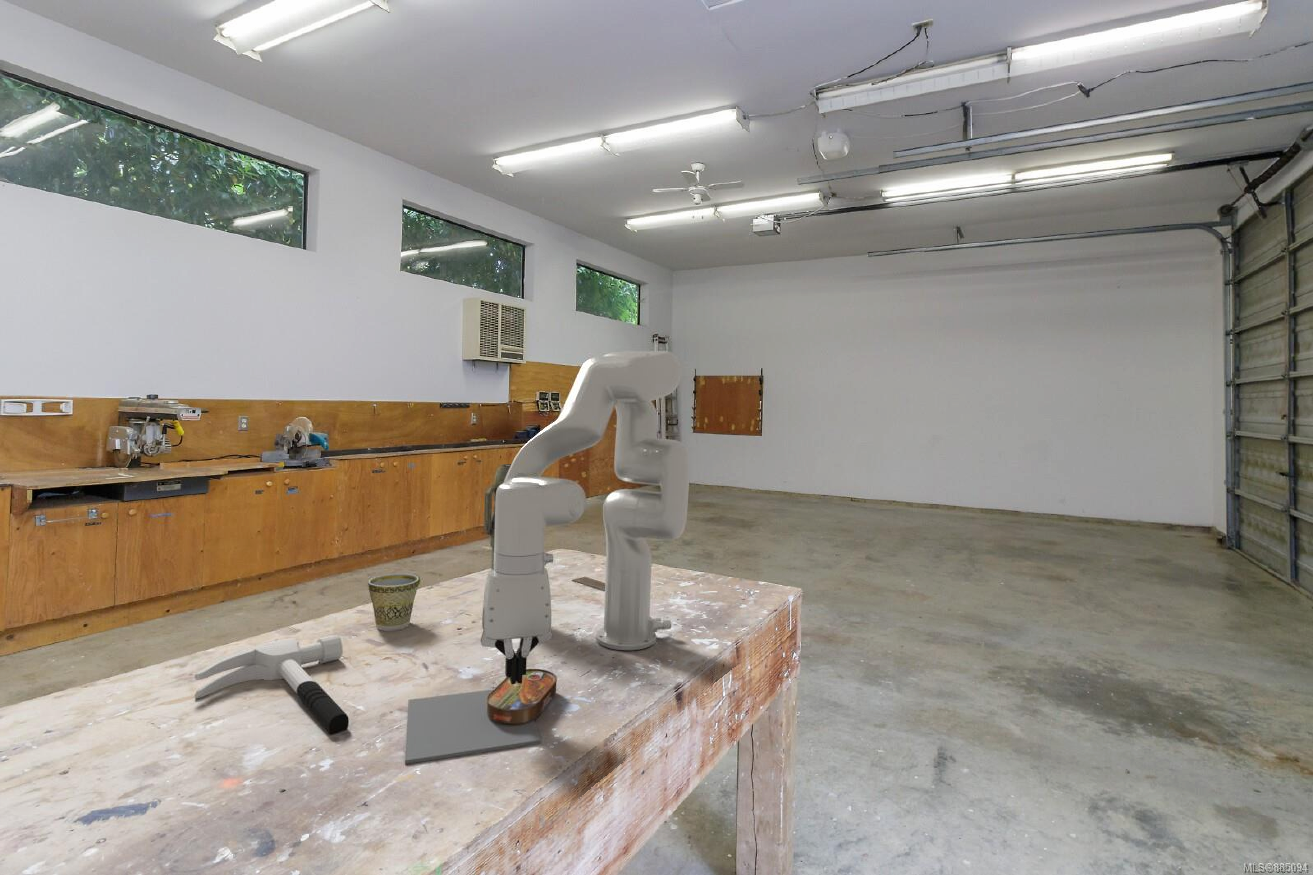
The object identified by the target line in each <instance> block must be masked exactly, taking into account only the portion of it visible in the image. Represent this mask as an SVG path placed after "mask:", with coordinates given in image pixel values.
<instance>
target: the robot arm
mask: <svg viewBox="0 0 1313 875" xmlns="http://www.w3.org/2000/svg"><path fill="white" fill-rule="evenodd" d="M681 378H682V367H681V363H680V361H679V359H678V357H677V356H676V355H675V354H674V353H673V352H671V351H668V350H659V351H658V350H653V351H652V350H647V351H645V350H643V351H641V350H640V351H639V350H623V351H622V350H621V351H612V352H609V353H605V354H604V355H602V356H599V355H598V356H594V357H591V358H589V359H587V360H586V361H585V362H583V364H582V365H581V367H580V368H579V371H578V373H577V375H576V377H575V380H574V382H573V384H572V387H571V389H570V391H569V393H568V396H567V397H566V400H565V402H564V405H563V407H562V408H561V411H560V414H559V415H558V416H557V417H558V418H556V419H555V421H553V422H552V423H550V424H549V425H548V426H546V427H545V428H543V429H542V430H541V431H540V432H538V433H537V434H536V435H535V436H534V437H532V438H531V439H530V440H528V441H527V443H525V444H524V445H523V446H522V448H520V449H519V451H518V452H517V453H516V455H515V457H514V458H513V461H512V462H511V463H510V464H511V467H510V469H509V471H508V473H507V475H506V478H505V480H504V482H503V484H501V485H500V486H499V487H498V488H497V491H496V502H495V501H494V505H495V540H494V569H493V570H491V569H490V570H489V571H487V576H486V580H485V585H484V593H483V601H482V602H483V603H482V615H481V616H482V617H481V619H482V620H481V623H482V626H481V627H482V634H481V638H480V645H481V646H482V647H484V648H485V647H486V648H491V649H495V648H496V650H498V651H499V652H500V653H501V654H502V655H504V656H505V667H504V673H505V678H506V677H509V678H510V682H511V685H512V684H515V683H516V681H517V683H518V684H520V683H522V675H526V669H527V663H528V662H527V661H528V657H529V656H530V653H531V652H532V651H533V649H535V648H536V647H537V645H539V644H542V643H546V642H549V641H550V640H552V638H553V636H552V630H551V629H552V597H551V586H550V585H551V584H550V577H549V571H548V569H547V568H546V565H547V564H549V563H553V562H554V554H553V553H548V552H547V553H546V551H545V537H546V534H545V532H546V527H548V526H567V525H570V524H572V523H574V522H576V521H578V520H579V519H580V518H581V516H582V515H583V514H584V512H585V510H586V506H587V496H586V493H585V490H584V489H583V487H582V486H581V485H580V484H579V483H577V482H576V481H575V480H571V479H568V478H561V477H560V478H559V477H558V478H557V477H550V476H542V474H543V473H544V472H545V471H546V469H547V468H549V467H551V465H553V464H554V463H555V462H556V461H558V460H560V459H563V458H565V457H567V456H570V455H573V454H577V453H578V452H581V451H583V450H586V449H590V448H592V447H593V446H595V445H597V444H599V443H600V442H601V441H602V439H603V437H604V435H605V431H606V430H607V427H608V424H609V422H610V419H611V416H612V414H613V412H614V409H615V412H616V431H615V447H614V457H613V458H614V459H613V460H614V462H613V464H614V465H613V467H614V474H615V475H616V477H617V478H618V479H619V480H621V481H624V482H628V483H633V484H641V485H650V486H651V485H652V486H660V491H651V490H643V489H642V490H641V489H631V488H621V489H616V490H614V491H612V492H611V493H609V494H608V495H607V497H606V498H605V500H604V501H603V506H602V518H603V525H604V529H605V530H604V531H605V545H606V547H605V548H606V549H605V553H606V555H605V582H604V583H605V592H604V608H603V609H604V611H603V612H604V613H603V614H604V616H603V627H602V628H600V629H598V630H597V631H596V634H595V641H597V644H599V645H601V646H603V647H605V648H608V649H612V650H618V651H636V650H638V651H639V650H643V649H646V648H650V647H651V646H653V645H654V644H655V643H656V642H657V632H658V631H659V630H662V631H663V630H670V629H671V628H672V621H671V619H663V620H662V619H661V617H655V618H652V617H651V616H650V615H651V612H650V610H651V588H652V587H651V585H652V565H653V564H652V563H653V561H652V560H653V559H652V554H651V550H650V547H649V545H648V544H647V541H646V538H647V539H653V540H661V541H675V540H677V539H679V538H680V537H681V536H682V535H683V533H684V530H685V528H686V524H687V515H688V507H689V506H688V505H689V491H690V490H689V489H690V475H691V460H690V454H689V451H688V449H687V447H686V446H685V444H684V443H683V442H682V441H679V440H676V439H669V438H668V439H667V438H658V418H659V416H658V413H657V409H656V407H655V405H654V403H653V402H654V401H655V400H658V399H661V398H664V397H667V396H669V395H670V394H673V393H674V392H675V391H676V390H677V389H678V386H679V384H680V382H681ZM652 401H653V402H652ZM515 639H516V640H517V639H520V640H519V646H518V648H517V650H516V651H515V649H514V646H513V640H515Z"/></svg>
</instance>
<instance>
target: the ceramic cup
mask: <svg viewBox="0 0 1313 875" xmlns="http://www.w3.org/2000/svg"><path fill="white" fill-rule="evenodd" d="M367 584H368V585H367V586H368V592H369V597H370V601H371V604H372V608H373V609H372V610H373V614H374V620H375V627H376V629H377V630H378V629H379V630H378V631H384V632H391V631H399V630H402V629H405V628H407V627H408V626H409V625H410V623H411V619H412V618H411V617H412V612H413V608H414V602H415V599H416V594H417V592H418V591H417V590H418V588H419V587H420V584H421V577H420V575H417V574H412V573H411V574H410V573H390V574H389V573H388V574H382V575H378V576H374V577H371V578H370V579H369V580H368V582H367ZM404 627H405V628H404Z"/></svg>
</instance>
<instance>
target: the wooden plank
mask: <svg viewBox="0 0 1313 875" xmlns="http://www.w3.org/2000/svg"><path fill="white" fill-rule="evenodd" d="M571 580H572V581H571V582H574V583H576V582H577V584H579V583H580V584H579V585H583V586H586V587H588V588H592V589H595V590H599V591H602V592H604V591H605V582H603V581H599V580H596V579H593V578H591V577H588V576H582V577H577V578H574V579H571Z"/></svg>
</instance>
